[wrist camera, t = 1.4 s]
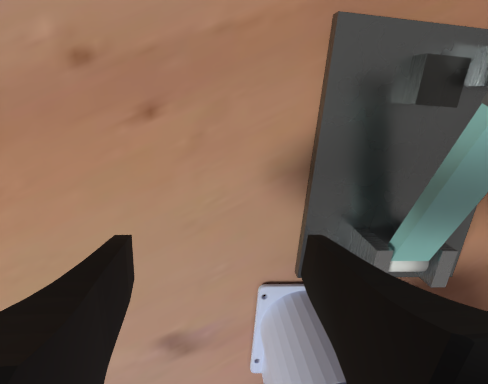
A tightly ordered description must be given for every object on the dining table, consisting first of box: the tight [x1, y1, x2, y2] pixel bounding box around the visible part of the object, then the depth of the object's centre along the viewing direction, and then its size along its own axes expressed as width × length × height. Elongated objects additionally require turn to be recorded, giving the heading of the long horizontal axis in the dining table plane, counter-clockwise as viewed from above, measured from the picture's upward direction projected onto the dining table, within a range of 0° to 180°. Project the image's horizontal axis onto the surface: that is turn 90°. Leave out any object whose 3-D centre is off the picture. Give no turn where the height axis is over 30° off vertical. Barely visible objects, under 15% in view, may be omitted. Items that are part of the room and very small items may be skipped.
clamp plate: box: [295, 11, 488, 287], centre depth 20 cm, size 19×14×6 cm
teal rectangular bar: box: [388, 92, 488, 272], centre depth 18 cm, size 15×3×2 cm, turn 176°
